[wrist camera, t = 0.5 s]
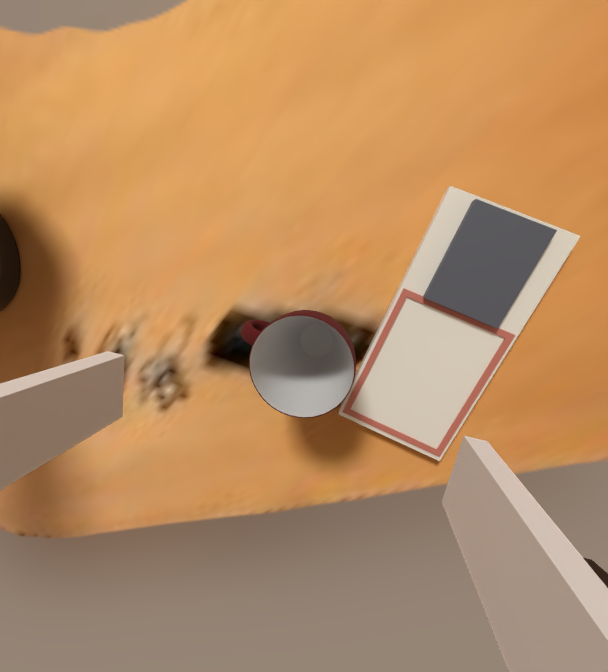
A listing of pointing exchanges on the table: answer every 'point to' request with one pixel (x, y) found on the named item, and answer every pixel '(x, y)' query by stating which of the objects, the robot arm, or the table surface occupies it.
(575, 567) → the robot arm
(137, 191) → the table surface
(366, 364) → the board
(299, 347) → the mug
